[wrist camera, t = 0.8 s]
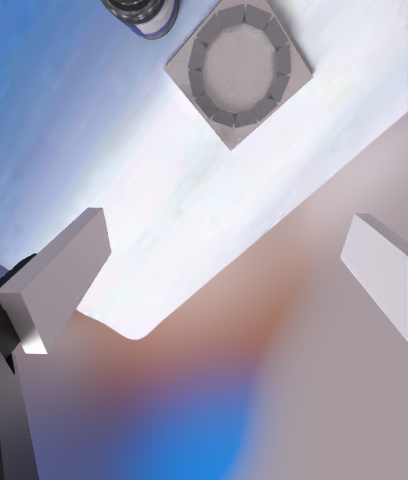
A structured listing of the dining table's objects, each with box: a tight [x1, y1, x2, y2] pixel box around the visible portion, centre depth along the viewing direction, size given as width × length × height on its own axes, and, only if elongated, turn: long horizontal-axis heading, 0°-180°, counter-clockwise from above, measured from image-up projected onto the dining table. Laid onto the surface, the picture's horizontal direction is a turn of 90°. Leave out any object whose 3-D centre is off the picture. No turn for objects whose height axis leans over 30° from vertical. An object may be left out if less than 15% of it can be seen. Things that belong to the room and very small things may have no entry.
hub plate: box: [164, 0, 313, 151], centre depth 29 cm, size 12×12×2 cm
